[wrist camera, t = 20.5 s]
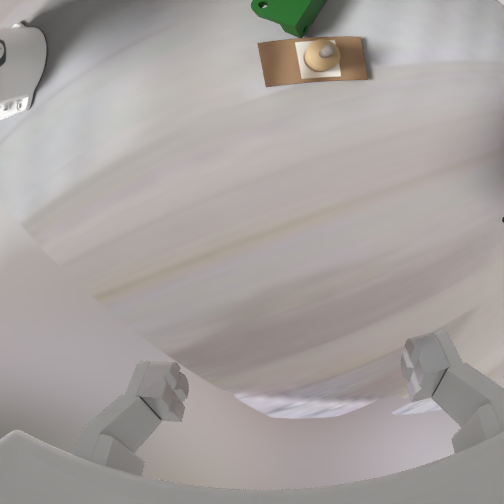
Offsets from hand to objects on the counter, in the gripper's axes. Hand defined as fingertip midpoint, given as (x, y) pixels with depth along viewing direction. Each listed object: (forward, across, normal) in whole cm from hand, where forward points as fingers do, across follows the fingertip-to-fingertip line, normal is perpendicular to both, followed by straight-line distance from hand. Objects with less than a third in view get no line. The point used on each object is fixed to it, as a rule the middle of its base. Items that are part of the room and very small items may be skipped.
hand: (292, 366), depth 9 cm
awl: (+31, -7, -12) cm, 34 cm away
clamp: (+33, -6, -22) cm, 40 cm away
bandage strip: (+32, -7, -12) cm, 35 cm away
